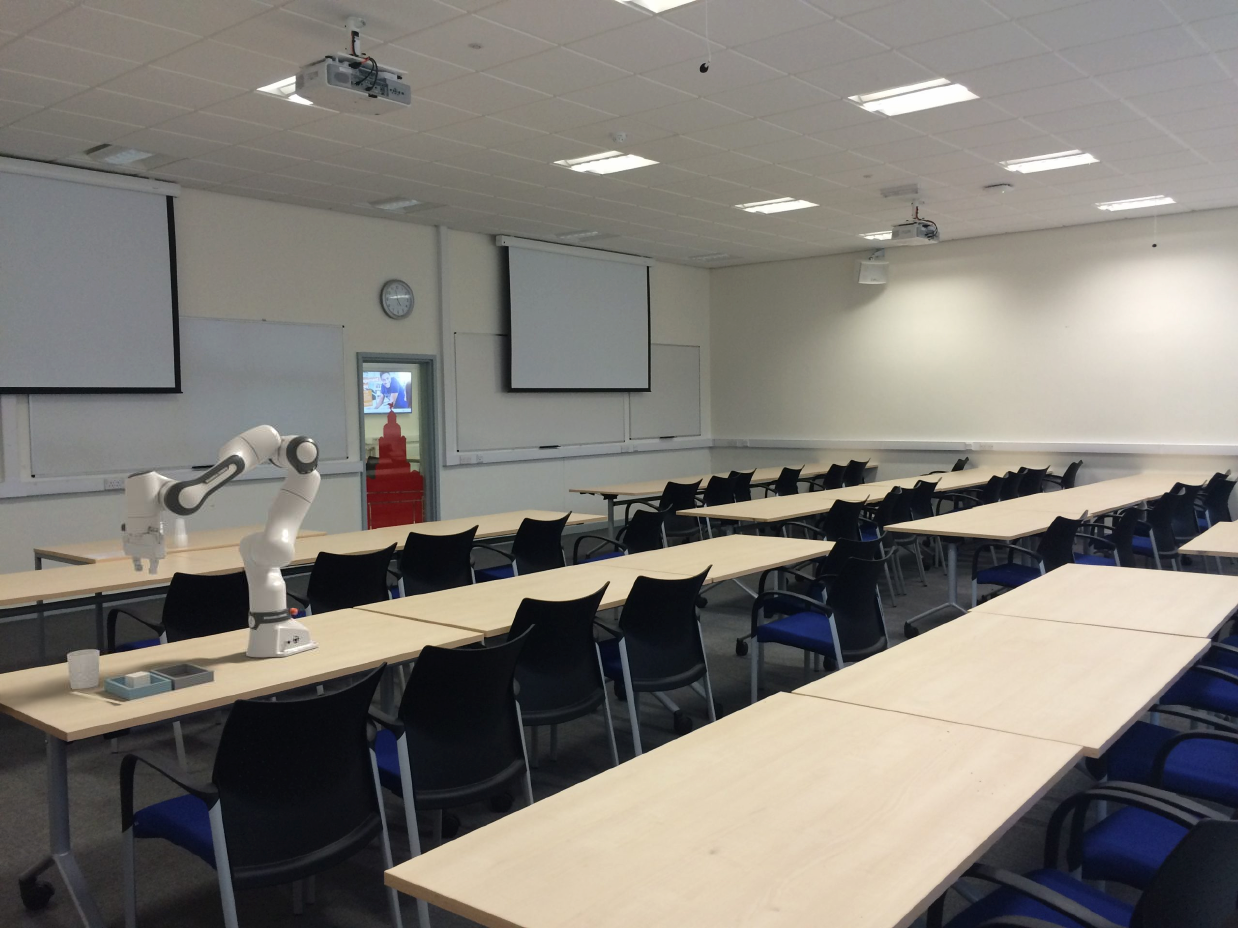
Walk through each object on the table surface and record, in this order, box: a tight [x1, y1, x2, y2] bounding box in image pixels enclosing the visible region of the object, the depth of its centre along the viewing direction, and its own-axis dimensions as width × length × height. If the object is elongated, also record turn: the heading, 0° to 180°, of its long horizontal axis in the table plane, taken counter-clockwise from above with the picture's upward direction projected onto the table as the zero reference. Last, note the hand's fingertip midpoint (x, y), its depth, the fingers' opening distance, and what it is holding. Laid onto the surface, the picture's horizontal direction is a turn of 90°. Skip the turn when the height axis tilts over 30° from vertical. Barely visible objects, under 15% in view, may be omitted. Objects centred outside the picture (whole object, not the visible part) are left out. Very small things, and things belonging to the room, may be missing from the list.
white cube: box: [124, 671, 150, 689], centre depth 253 cm, size 4×4×4 cm
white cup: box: [66, 648, 100, 690], centre depth 259 cm, size 8×8×10 cm
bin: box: [104, 670, 173, 702], centre depth 253 cm, size 11×16×4 cm
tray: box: [148, 662, 215, 691], centre depth 262 cm, size 11×16×4 cm
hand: (145, 572), depth 269 cm, fingers open, 8 cm apart
